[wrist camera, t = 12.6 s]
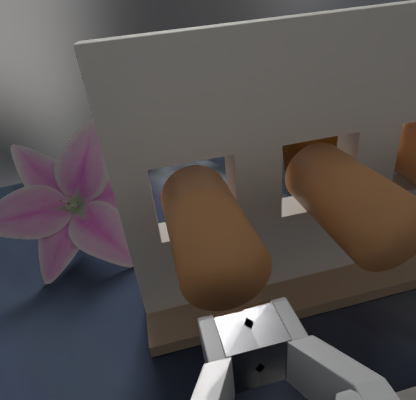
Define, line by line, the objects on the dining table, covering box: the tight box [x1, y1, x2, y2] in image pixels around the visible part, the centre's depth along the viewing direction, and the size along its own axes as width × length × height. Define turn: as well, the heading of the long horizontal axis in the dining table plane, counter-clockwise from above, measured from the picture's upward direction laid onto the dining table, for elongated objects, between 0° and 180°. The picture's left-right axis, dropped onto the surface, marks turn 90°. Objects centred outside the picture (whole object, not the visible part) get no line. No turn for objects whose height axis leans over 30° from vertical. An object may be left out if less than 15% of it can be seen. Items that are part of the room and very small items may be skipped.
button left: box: [161, 165, 272, 311], centre depth 16 cm, size 4×6×4 cm, turn 13°
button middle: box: [285, 142, 416, 272], centre depth 17 cm, size 4×6×4 cm, turn 13°
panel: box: [74, 0, 416, 357], centre depth 20 cm, size 22×7×16 cm, turn 103°
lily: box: [0, 119, 152, 284], centre depth 28 cm, size 12×12×10 cm
